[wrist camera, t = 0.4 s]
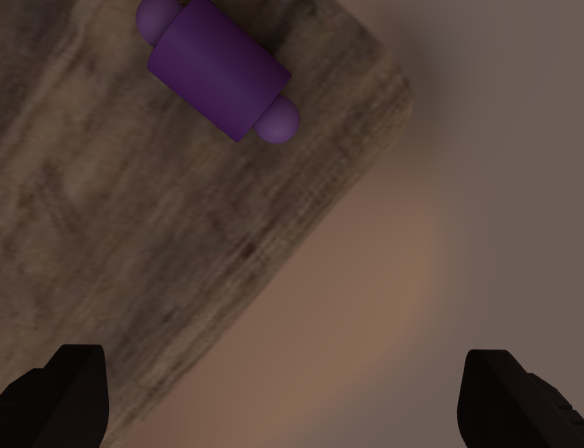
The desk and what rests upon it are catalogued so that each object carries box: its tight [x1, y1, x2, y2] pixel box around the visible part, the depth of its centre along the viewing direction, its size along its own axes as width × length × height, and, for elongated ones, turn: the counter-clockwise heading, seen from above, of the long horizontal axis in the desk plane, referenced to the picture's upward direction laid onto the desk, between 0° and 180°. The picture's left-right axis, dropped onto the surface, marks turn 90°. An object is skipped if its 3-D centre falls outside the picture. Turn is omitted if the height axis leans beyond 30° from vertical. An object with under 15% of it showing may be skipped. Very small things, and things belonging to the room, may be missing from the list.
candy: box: [136, 0, 300, 143], centre depth 21 cm, size 9×4×4 cm, turn 49°
